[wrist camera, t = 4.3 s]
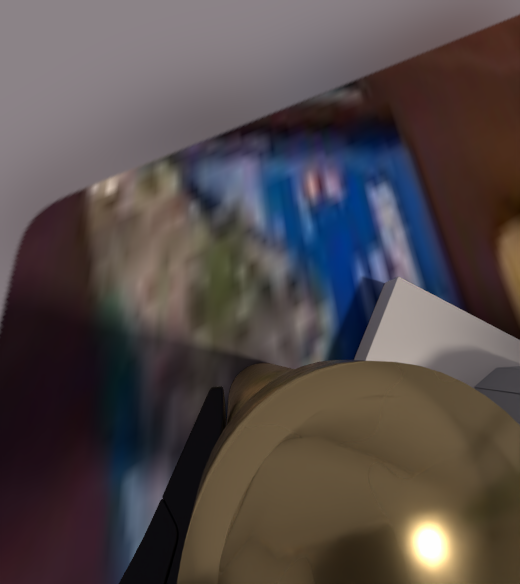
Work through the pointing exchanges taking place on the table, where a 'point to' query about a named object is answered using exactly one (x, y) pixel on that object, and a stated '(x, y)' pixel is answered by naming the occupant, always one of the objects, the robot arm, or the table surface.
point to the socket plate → (443, 342)
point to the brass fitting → (357, 481)
